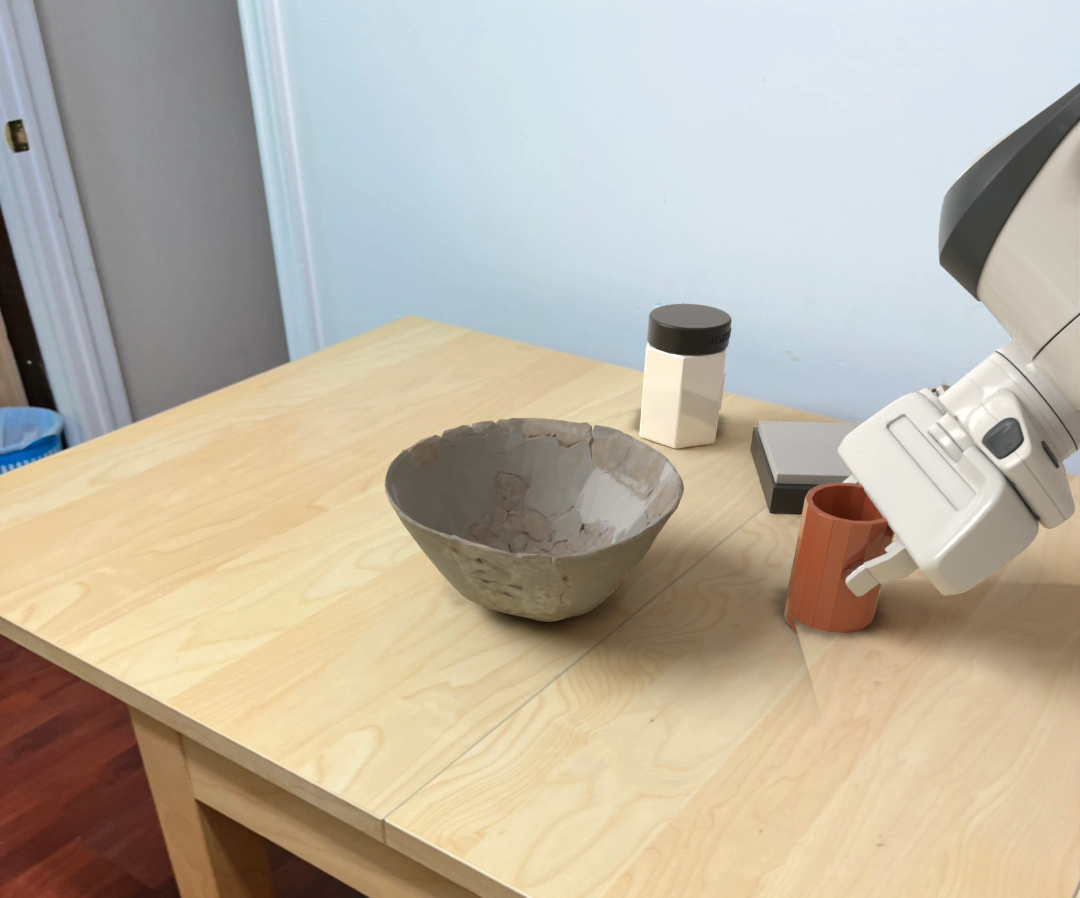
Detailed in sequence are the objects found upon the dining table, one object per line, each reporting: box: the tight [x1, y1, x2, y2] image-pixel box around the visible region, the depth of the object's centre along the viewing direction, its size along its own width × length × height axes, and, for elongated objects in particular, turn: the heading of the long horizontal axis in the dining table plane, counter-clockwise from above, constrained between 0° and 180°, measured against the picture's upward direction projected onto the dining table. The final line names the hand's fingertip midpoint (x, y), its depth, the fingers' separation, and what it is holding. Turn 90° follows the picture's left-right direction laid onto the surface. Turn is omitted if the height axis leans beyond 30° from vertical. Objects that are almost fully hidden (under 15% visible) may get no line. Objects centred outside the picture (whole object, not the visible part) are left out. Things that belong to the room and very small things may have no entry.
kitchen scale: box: [749, 420, 863, 515], centre depth 99 cm, size 16×14×4 cm
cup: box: [783, 483, 895, 633], centre depth 78 cm, size 7×7×10 cm
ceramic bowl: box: [384, 417, 685, 623], centre depth 81 cm, size 22×23×10 cm
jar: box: [639, 303, 732, 450], centre depth 106 cm, size 9×8×12 cm
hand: (832, 558), depth 77 cm, fingers closed on cup, 7 cm apart
